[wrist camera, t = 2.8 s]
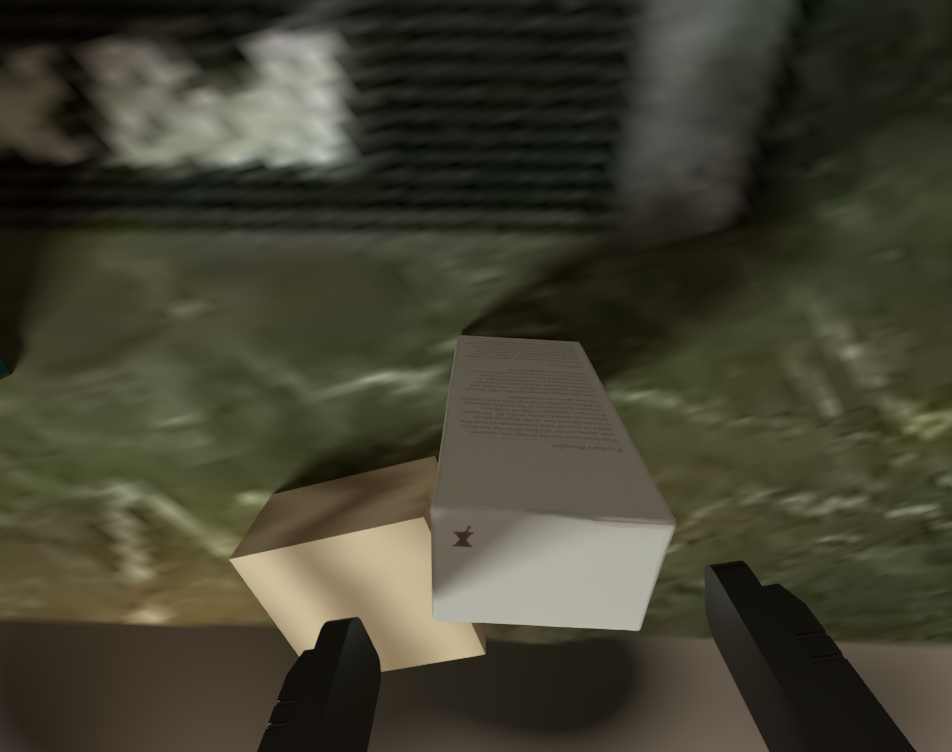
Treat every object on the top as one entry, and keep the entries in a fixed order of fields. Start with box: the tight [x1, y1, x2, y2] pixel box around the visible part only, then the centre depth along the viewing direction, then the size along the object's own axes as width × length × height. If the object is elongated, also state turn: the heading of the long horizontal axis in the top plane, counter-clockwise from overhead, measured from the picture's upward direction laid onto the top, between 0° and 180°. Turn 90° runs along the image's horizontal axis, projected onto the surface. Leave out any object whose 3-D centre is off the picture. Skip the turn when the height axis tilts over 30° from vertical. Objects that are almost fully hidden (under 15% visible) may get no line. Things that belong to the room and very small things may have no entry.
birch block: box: [229, 456, 486, 672], centre depth 25 cm, size 10×10×5 cm
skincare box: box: [430, 335, 676, 631], centre depth 17 cm, size 6×4×12 cm
